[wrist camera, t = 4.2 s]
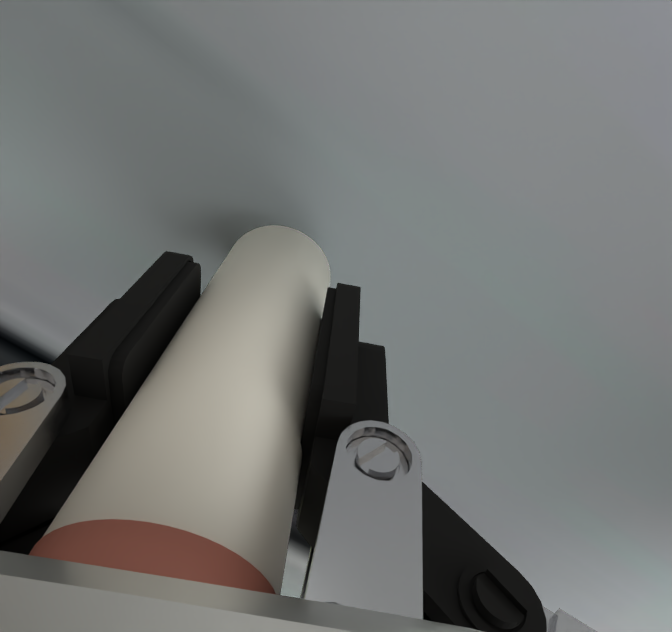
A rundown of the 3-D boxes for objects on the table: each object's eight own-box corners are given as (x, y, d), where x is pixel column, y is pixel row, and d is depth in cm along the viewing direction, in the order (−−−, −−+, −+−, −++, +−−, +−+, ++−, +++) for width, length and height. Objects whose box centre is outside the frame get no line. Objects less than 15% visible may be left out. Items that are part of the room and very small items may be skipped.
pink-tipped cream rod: (340, 236, 12) (273, 682, 4) (322, 327, 14) (248, 787, 5) (229, 214, 12) (-99, 627, 4) (224, 310, 14) (-13, 750, 5)
